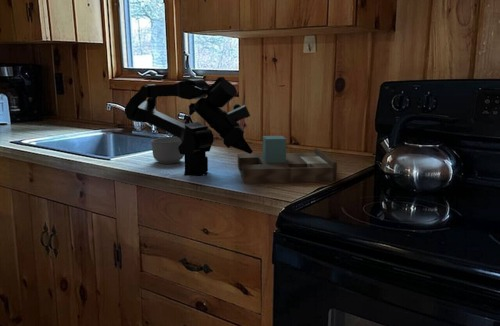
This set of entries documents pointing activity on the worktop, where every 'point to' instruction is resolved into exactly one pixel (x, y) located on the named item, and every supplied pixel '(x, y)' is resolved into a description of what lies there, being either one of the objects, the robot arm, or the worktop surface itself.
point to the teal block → (274, 149)
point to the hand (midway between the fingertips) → (251, 152)
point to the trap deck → (288, 168)
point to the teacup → (166, 150)
